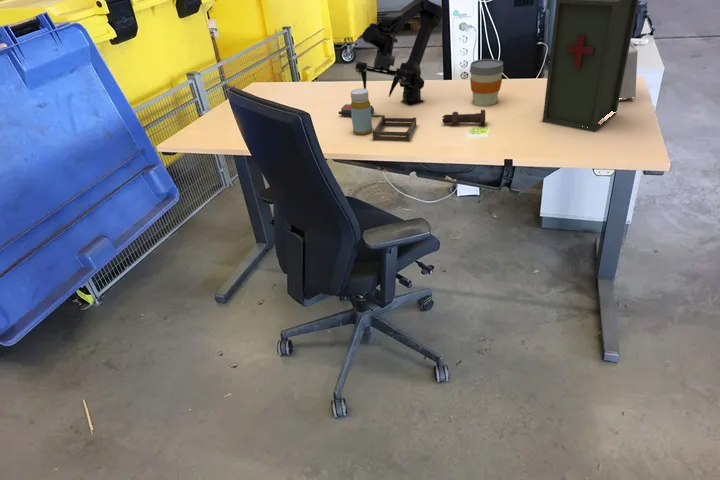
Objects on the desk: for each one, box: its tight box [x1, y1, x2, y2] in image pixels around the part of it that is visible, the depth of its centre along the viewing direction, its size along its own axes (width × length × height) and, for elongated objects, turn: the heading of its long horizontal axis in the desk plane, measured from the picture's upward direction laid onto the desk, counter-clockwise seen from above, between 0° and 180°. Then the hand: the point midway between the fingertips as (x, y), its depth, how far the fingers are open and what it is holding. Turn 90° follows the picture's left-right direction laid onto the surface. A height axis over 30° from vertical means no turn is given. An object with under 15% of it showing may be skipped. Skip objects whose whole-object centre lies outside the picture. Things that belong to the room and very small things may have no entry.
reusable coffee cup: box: [469, 58, 504, 107], centre depth 200 cm, size 13×13×15 cm
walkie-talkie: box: [338, 103, 386, 119], centre depth 202 cm, size 9×4×20 cm
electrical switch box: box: [619, 40, 639, 101], centre depth 194 cm, size 15×15×20 cm
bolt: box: [441, 109, 486, 127], centre depth 186 cm, size 6×5×15 cm
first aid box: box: [542, 0, 640, 133], centre depth 172 cm, size 18×18×40 cm
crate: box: [372, 116, 417, 142], centre depth 186 cm, size 14×13×3 cm
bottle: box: [350, 88, 373, 136], centre depth 186 cm, size 7×7×15 cm
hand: (376, 94), depth 191 cm, fingers open, 9 cm apart
